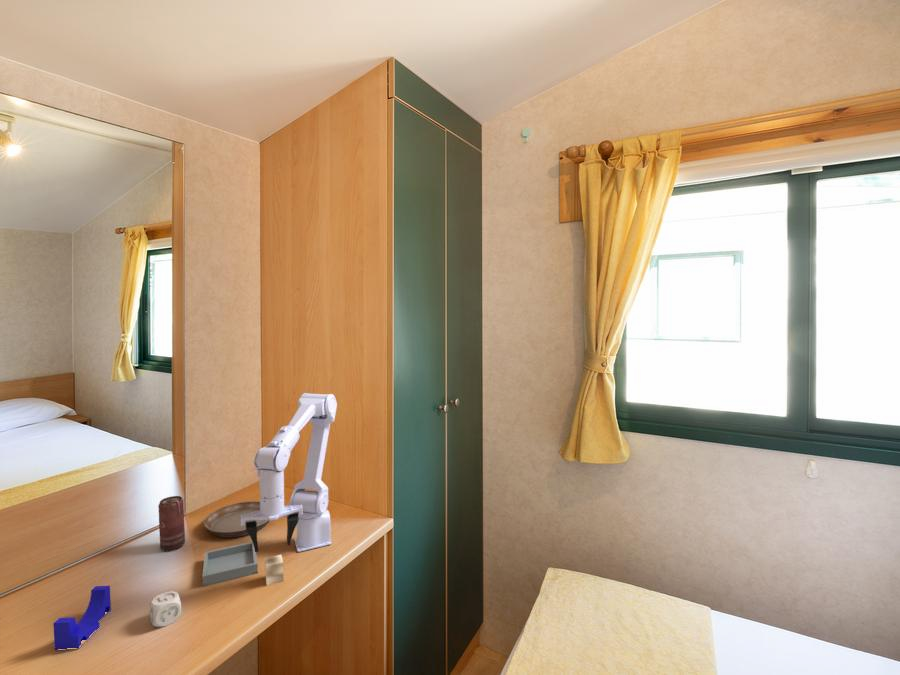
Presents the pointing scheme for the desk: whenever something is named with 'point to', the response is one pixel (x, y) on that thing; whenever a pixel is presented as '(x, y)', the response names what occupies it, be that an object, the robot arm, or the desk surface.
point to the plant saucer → (232, 519)
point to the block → (274, 569)
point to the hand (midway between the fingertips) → (272, 546)
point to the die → (165, 609)
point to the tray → (229, 563)
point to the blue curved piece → (82, 620)
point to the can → (171, 523)
